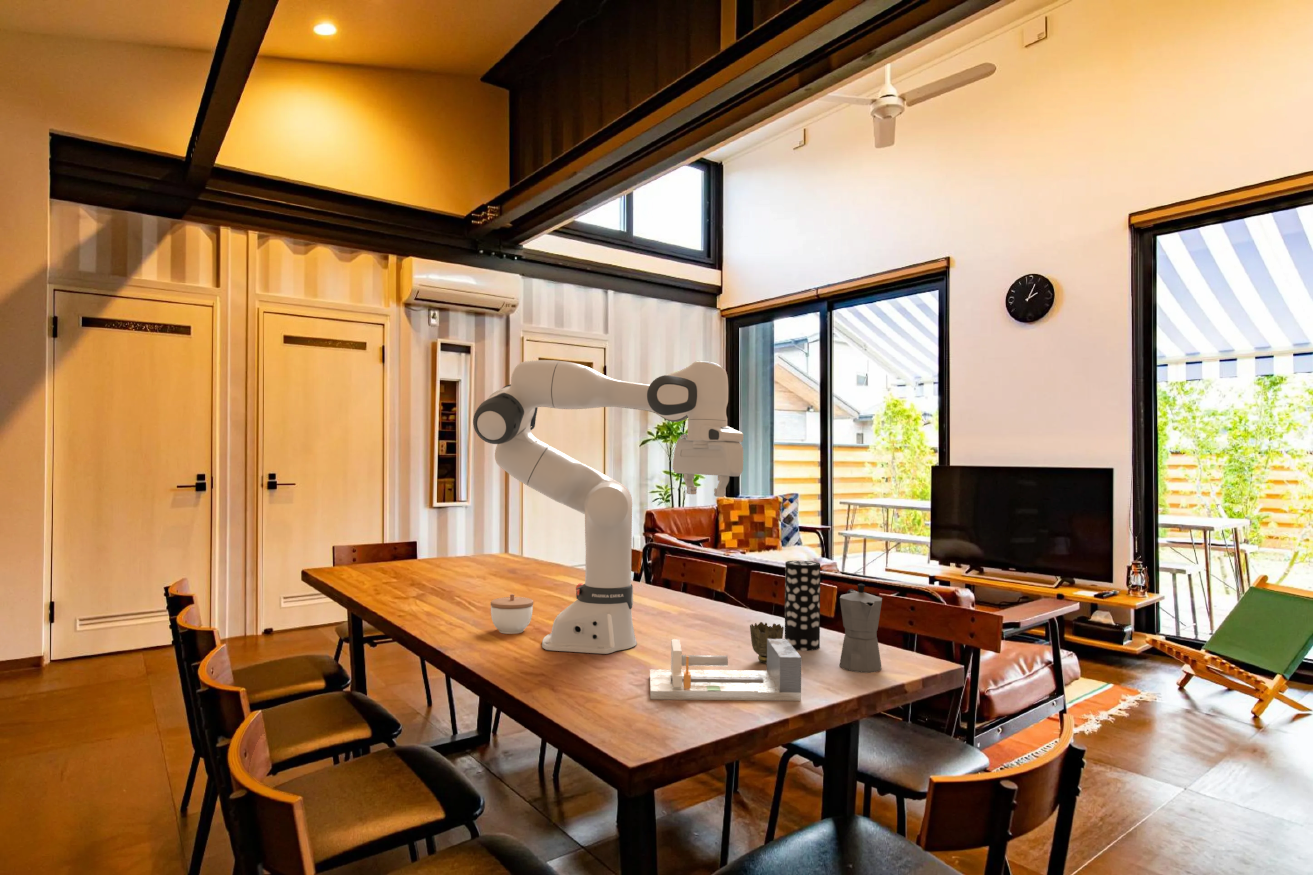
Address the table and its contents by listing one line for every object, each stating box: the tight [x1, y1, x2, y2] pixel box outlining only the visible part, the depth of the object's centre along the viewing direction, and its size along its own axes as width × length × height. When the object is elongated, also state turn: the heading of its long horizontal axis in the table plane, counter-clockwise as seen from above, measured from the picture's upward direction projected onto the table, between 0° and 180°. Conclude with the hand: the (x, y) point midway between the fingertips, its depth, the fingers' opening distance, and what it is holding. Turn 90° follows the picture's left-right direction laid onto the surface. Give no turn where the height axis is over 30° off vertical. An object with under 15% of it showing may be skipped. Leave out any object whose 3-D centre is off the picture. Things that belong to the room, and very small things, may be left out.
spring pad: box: [670, 638, 729, 687], centre depth 141 cm, size 11×12×6 cm
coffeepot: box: [839, 583, 883, 674], centre depth 160 cm, size 15×9×18 cm, turn 2°
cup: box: [749, 621, 785, 664], centre depth 162 cm, size 8×7×8 cm
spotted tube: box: [784, 560, 821, 652], centre depth 176 cm, size 8×8×20 cm
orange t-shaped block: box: [683, 656, 691, 688], centre depth 136 cm, size 1×2×6 cm, turn 1°
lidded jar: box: [490, 593, 534, 635], centre depth 187 cm, size 11×11×9 cm
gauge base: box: [649, 638, 802, 702], centre depth 142 cm, size 28×14×8 cm, turn 91°
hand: (705, 495), depth 163 cm, fingers open, 8 cm apart
